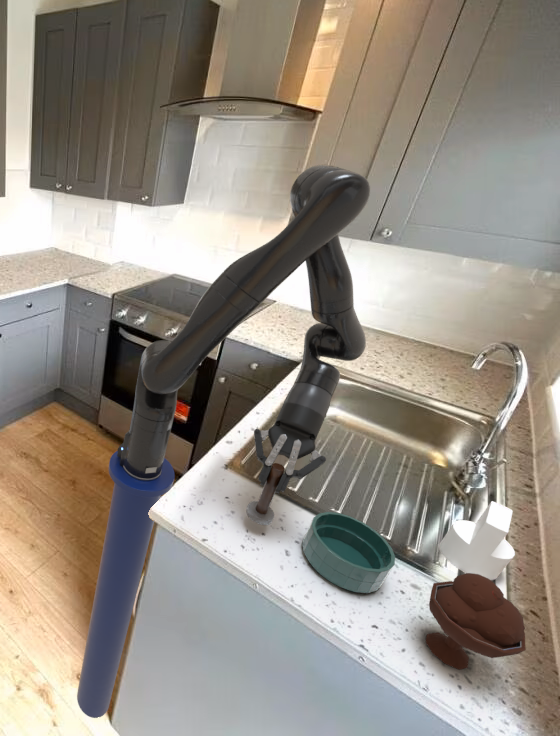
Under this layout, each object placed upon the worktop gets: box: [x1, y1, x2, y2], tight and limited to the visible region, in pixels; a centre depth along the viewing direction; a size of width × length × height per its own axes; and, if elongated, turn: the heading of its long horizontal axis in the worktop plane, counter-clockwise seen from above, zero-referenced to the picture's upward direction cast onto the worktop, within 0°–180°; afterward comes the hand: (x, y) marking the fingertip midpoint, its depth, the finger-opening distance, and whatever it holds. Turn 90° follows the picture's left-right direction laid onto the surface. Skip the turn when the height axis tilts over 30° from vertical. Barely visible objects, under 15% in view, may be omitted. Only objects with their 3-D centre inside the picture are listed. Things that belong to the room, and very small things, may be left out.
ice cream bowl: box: [425, 573, 527, 670], centre depth 65 cm, size 11×11×15 cm
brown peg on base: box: [245, 462, 286, 526], centre depth 85 cm, size 5×5×13 cm
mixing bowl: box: [301, 511, 396, 594], centre depth 81 cm, size 13×13×6 cm
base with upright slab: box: [438, 500, 516, 581], centre depth 82 cm, size 9×9×12 cm
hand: (269, 488), depth 82 cm, fingers closed on brown peg on base
